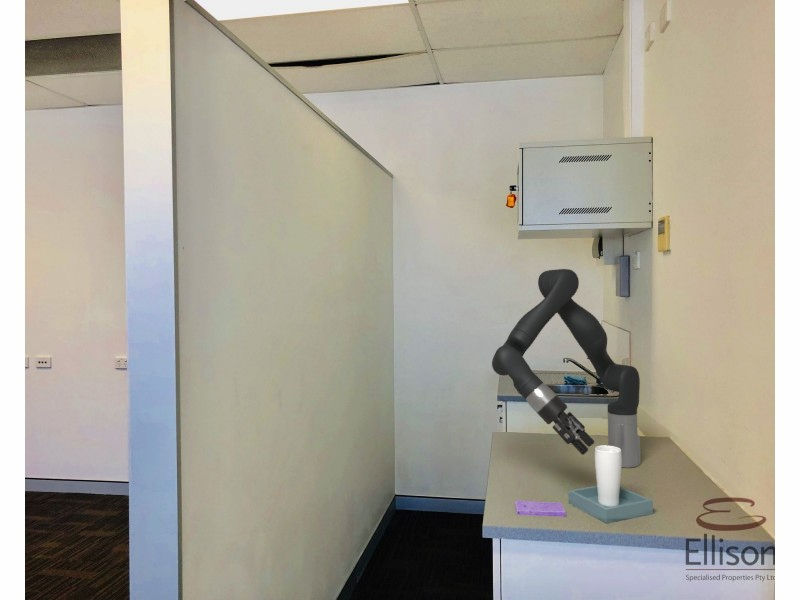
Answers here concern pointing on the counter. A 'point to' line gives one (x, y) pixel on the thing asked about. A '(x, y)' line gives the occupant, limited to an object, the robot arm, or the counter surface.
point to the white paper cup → (608, 474)
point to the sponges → (540, 508)
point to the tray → (627, 508)
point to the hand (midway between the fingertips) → (589, 448)
